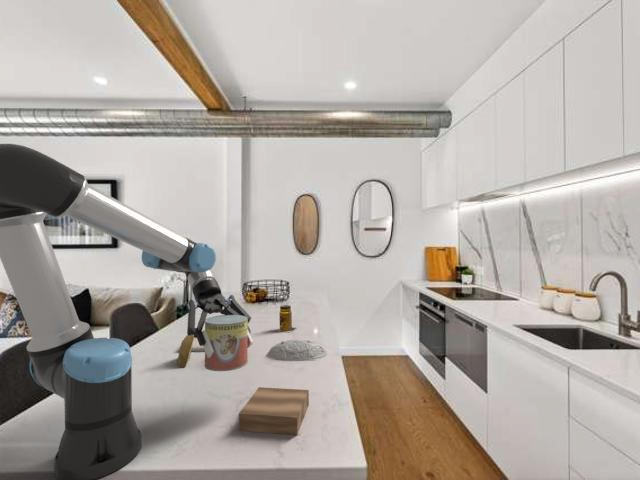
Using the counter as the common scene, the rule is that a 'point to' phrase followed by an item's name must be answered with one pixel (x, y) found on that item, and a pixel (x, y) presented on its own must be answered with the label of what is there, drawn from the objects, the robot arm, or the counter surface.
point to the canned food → (227, 342)
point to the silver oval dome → (297, 351)
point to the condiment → (285, 319)
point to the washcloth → (196, 346)
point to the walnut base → (274, 411)
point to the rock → (185, 351)
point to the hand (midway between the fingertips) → (231, 349)
